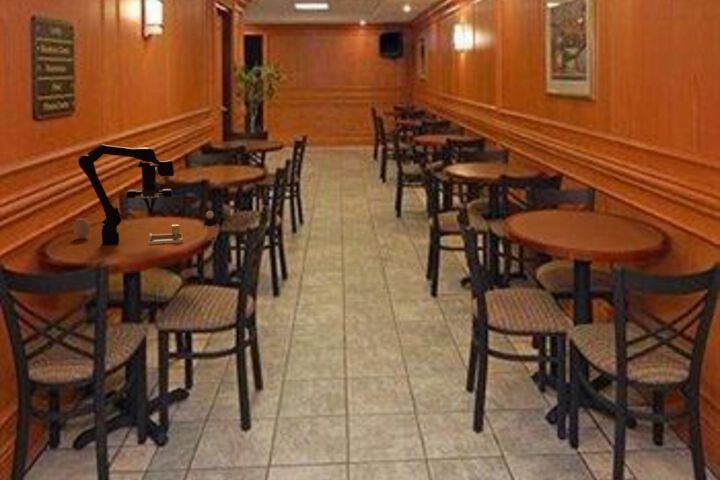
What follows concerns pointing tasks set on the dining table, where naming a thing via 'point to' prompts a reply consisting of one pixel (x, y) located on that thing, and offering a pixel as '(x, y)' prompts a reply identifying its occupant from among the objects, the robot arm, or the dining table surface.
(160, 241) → the gauge board
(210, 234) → the grandmother figurine
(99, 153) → the robot arm
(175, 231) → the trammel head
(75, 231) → the egg
